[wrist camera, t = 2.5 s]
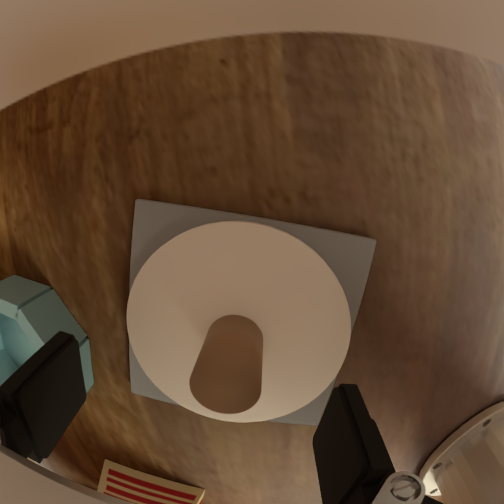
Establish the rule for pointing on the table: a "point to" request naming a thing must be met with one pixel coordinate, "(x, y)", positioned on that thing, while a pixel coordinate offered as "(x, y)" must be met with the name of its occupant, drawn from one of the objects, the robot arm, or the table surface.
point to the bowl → (34, 325)
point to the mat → (320, 240)
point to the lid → (238, 321)
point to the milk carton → (144, 487)
